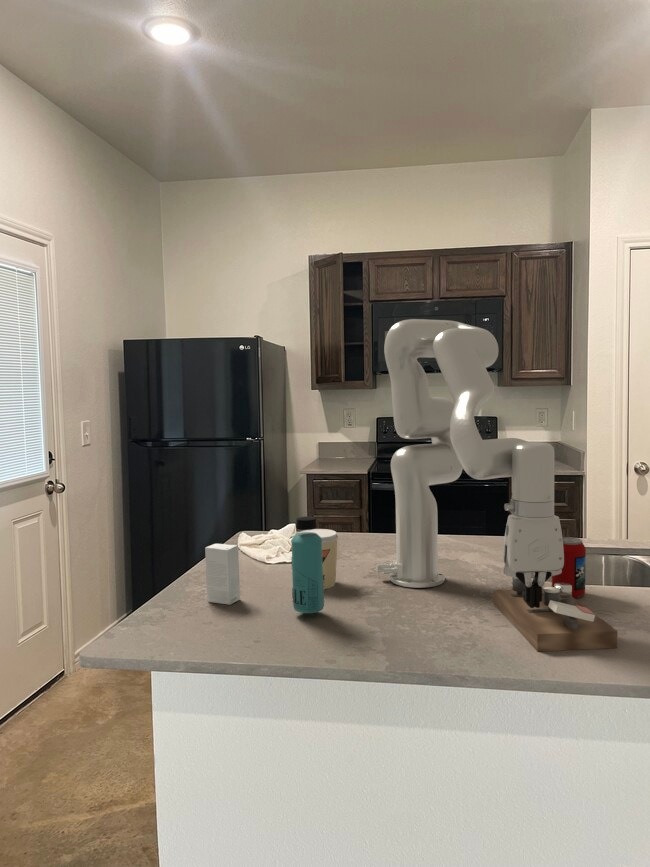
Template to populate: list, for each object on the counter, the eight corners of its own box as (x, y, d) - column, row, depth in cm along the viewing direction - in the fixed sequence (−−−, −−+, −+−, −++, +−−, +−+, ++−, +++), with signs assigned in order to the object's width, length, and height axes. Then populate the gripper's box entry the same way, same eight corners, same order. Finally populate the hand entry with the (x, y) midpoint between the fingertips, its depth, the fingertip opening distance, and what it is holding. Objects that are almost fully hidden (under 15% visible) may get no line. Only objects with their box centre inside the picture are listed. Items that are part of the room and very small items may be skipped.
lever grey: (515, 596, 132) (515, 578, 132) (510, 591, 135) (510, 573, 135) (529, 595, 132) (529, 577, 132) (524, 591, 135) (524, 573, 135)
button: (558, 598, 128) (558, 587, 127) (551, 592, 131) (551, 582, 131) (574, 597, 128) (574, 587, 128) (567, 592, 131) (567, 582, 131)
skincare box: (240, 599, 144) (239, 545, 143) (230, 605, 140) (228, 549, 139) (217, 596, 147) (215, 542, 146) (206, 602, 143) (204, 547, 142)
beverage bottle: (329, 611, 135) (327, 514, 134) (318, 622, 129) (316, 521, 128) (299, 608, 138) (297, 513, 136) (287, 619, 131) (284, 519, 130)
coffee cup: (291, 588, 151) (290, 536, 150) (308, 576, 160) (307, 527, 159) (330, 592, 147) (328, 539, 146) (344, 580, 156) (343, 530, 155)
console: (537, 651, 114) (537, 624, 113) (493, 604, 138) (493, 581, 137) (617, 647, 114) (617, 620, 114) (560, 601, 138) (560, 578, 138)
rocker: (555, 612, 115) (557, 605, 115) (548, 606, 118) (550, 598, 118) (593, 621, 115) (595, 614, 115) (585, 615, 118) (587, 607, 118)
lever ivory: (546, 611, 123) (547, 591, 123) (540, 606, 126) (541, 587, 126) (562, 610, 123) (562, 591, 123) (555, 605, 126) (556, 586, 126)
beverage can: (587, 600, 138) (588, 544, 138) (554, 599, 140) (554, 543, 139) (582, 590, 145) (582, 536, 144) (549, 589, 146) (550, 535, 145)
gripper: (499, 514, 119) (499, 614, 120) (581, 511, 119) (580, 611, 121) (487, 506, 126) (487, 600, 128) (564, 503, 127) (563, 597, 128)
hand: (532, 605), depth 124 cm, fingers closed
